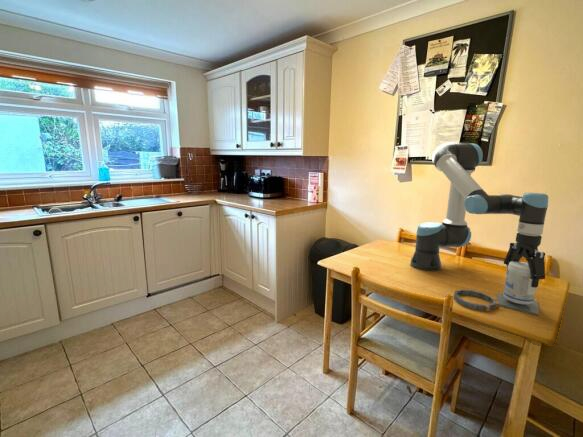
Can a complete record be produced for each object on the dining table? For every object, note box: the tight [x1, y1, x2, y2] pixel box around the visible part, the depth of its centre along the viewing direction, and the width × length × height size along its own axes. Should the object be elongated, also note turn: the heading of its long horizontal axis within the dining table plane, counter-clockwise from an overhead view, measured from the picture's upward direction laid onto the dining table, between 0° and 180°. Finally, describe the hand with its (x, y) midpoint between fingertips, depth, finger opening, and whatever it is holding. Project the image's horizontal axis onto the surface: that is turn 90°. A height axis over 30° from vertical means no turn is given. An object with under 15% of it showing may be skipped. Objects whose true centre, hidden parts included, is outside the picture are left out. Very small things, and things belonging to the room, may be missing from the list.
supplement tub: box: [503, 260, 536, 304], centre depth 117 cm, size 10×10×15 cm
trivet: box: [496, 292, 540, 317], centre depth 118 cm, size 13×13×1 cm
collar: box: [453, 289, 499, 313], centre depth 119 cm, size 15×14×2 cm
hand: (519, 288), depth 117 cm, fingers open, 10 cm apart
